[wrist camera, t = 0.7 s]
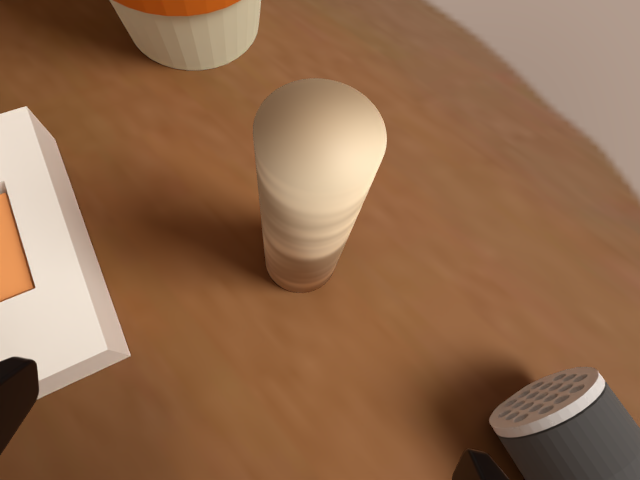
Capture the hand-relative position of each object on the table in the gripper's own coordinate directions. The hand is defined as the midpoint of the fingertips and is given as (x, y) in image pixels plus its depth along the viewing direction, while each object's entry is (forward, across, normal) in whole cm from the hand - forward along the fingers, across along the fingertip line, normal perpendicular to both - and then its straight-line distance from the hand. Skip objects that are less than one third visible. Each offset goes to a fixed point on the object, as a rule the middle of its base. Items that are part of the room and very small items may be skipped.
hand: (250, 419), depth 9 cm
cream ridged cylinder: (+15, 0, +3) cm, 15 cm away
